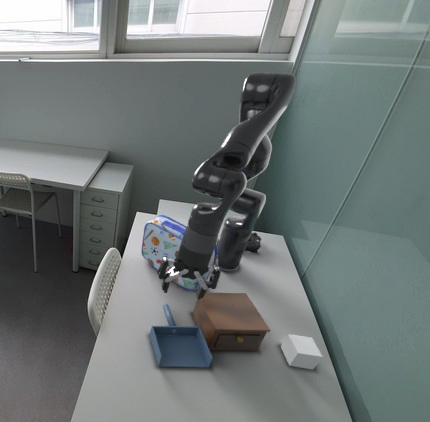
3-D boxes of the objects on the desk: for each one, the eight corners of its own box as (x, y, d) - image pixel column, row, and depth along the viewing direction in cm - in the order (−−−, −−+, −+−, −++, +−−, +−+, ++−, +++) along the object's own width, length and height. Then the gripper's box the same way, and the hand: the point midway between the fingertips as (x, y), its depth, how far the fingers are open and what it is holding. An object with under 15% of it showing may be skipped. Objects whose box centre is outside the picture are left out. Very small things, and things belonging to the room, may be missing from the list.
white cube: (280, 346, 91) (288, 334, 87) (303, 350, 90) (311, 337, 86) (289, 365, 86) (297, 352, 82) (313, 369, 85) (323, 356, 81)
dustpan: (209, 367, 86) (213, 358, 83) (158, 366, 86) (160, 357, 84) (185, 309, 103) (187, 300, 101) (142, 309, 103) (144, 300, 101)
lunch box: (213, 286, 111) (230, 239, 100) (197, 300, 106) (213, 251, 95) (151, 249, 130) (160, 205, 118) (135, 259, 125) (143, 215, 113)
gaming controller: (235, 225, 136) (262, 228, 131) (234, 236, 139) (260, 239, 134) (232, 241, 126) (261, 245, 121) (231, 253, 129) (259, 258, 123)
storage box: (190, 313, 102) (197, 292, 96) (236, 314, 101) (246, 292, 96) (208, 354, 89) (217, 332, 84) (260, 354, 89) (272, 333, 83)
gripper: (224, 241, 77) (206, 290, 84) (166, 231, 79) (153, 280, 87) (232, 258, 70) (212, 309, 78) (169, 246, 73) (154, 297, 80)
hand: (181, 294), depth 82 cm, fingers open, 8 cm apart
